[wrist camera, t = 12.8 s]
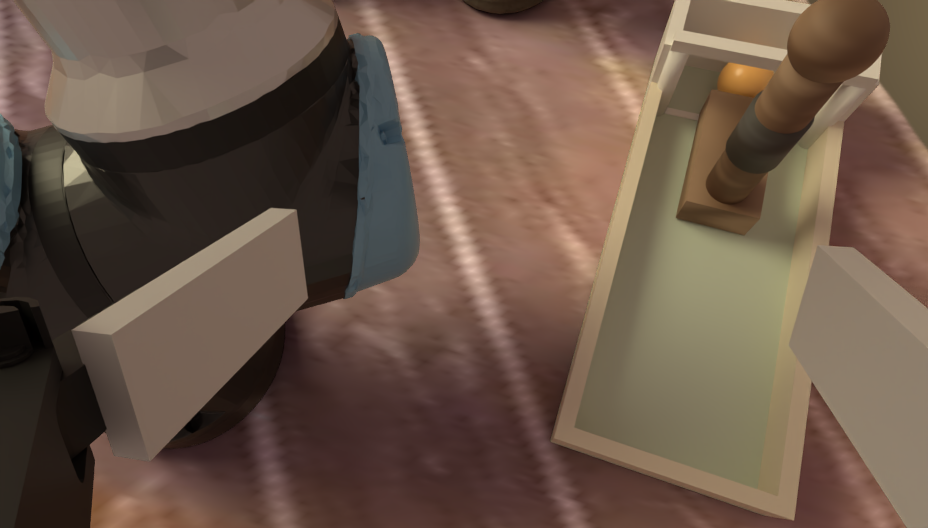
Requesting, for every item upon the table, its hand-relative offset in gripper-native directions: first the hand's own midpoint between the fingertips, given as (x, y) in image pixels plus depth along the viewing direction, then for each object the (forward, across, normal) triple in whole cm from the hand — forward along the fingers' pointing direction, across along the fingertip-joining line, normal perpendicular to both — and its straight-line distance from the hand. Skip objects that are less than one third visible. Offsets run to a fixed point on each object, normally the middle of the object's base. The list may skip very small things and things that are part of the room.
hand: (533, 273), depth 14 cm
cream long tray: (+28, +11, -10) cm, 32 cm away
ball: (+35, +14, +2) cm, 38 cm away
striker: (+32, +12, -5) cm, 34 cm away
